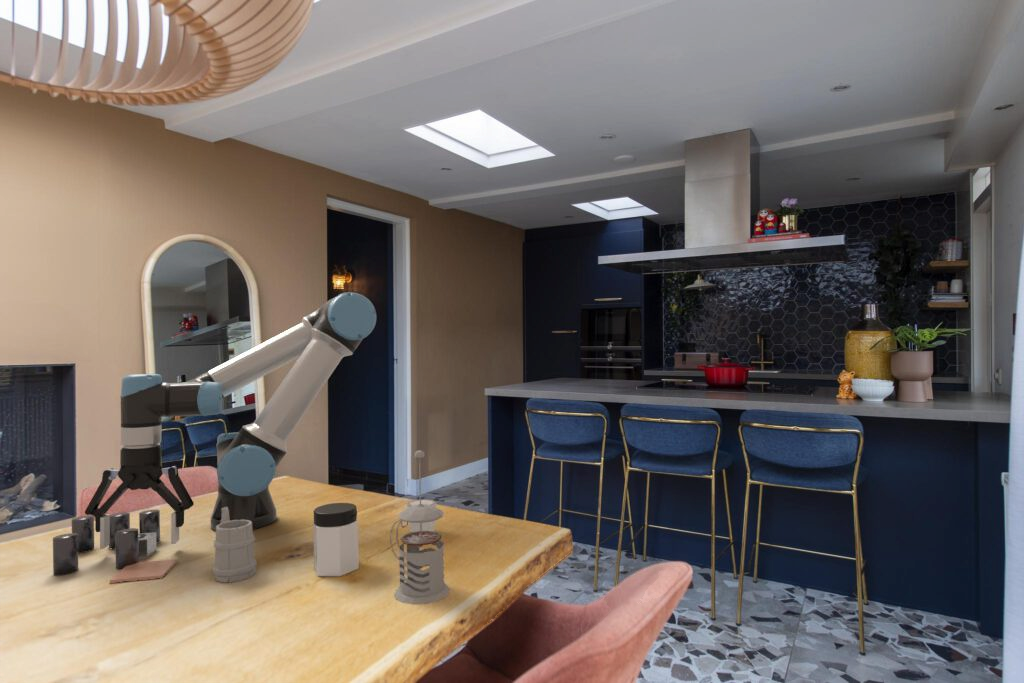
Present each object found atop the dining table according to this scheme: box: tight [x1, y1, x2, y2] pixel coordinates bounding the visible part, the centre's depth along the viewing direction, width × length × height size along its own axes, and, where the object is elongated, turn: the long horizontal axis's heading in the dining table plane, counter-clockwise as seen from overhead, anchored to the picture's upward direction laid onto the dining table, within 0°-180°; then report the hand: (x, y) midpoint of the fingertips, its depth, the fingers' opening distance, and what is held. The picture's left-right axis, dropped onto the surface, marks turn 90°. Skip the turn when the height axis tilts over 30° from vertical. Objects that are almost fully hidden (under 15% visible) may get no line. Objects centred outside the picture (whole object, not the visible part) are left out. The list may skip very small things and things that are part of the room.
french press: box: [389, 449, 451, 605], centre depth 105 cm, size 10×12×25 cm
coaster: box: [109, 558, 179, 584], centre depth 116 cm, size 9×9×1 cm
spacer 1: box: [52, 532, 79, 576], centre depth 118 cm, size 4×4×7 cm
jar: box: [312, 502, 360, 577], centre depth 116 cm, size 9×8×12 cm
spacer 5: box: [138, 509, 161, 544], centre depth 135 cm, size 4×4×7 cm
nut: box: [139, 532, 158, 559], centre depth 127 cm, size 5×5×4 cm
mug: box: [212, 507, 257, 583], centre depth 115 cm, size 8×12×12 cm, turn 42°
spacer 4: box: [114, 527, 140, 570], centre depth 120 cm, size 4×4×7 cm
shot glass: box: [406, 499, 437, 533], centre depth 137 cm, size 7×7×7 cm
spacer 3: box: [108, 511, 131, 550], centre depth 133 cm, size 4×4×7 cm
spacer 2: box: [71, 515, 95, 553], centre depth 131 cm, size 4×4×7 cm
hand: (140, 544), depth 127 cm, fingers open, 13 cm apart
